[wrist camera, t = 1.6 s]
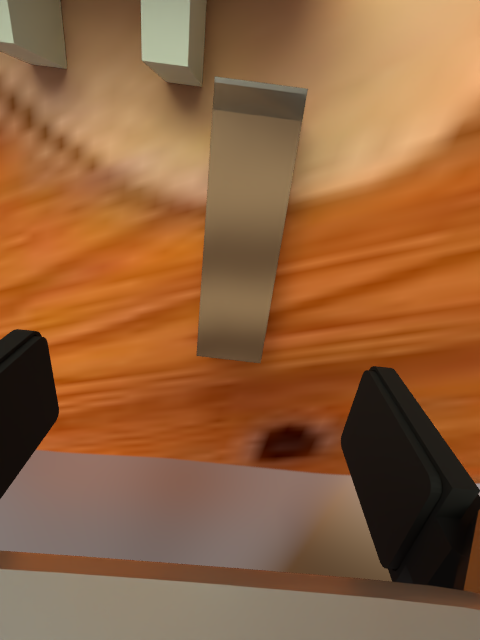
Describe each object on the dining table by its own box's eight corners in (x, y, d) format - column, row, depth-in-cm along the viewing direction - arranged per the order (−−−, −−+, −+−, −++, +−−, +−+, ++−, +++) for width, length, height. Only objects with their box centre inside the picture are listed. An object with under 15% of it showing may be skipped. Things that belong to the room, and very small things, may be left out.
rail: (224, 96, 18) (214, 76, 14) (294, 105, 18) (307, 88, 14) (206, 320, 25) (196, 355, 20) (259, 326, 25) (260, 363, 20)
